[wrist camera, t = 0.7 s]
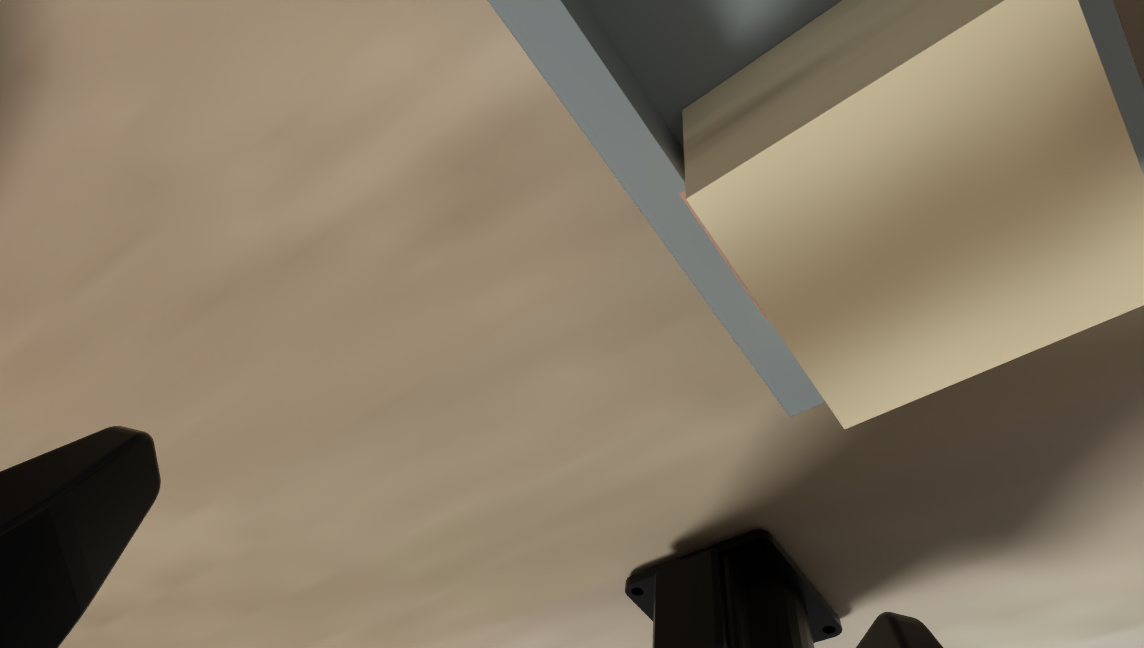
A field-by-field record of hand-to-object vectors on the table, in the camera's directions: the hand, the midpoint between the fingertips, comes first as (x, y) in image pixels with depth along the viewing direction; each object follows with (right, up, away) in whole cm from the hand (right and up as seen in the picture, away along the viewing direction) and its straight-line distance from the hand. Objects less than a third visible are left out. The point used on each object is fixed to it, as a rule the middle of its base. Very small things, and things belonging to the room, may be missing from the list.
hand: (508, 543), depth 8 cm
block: (+8, +7, +8) cm, 13 cm away
